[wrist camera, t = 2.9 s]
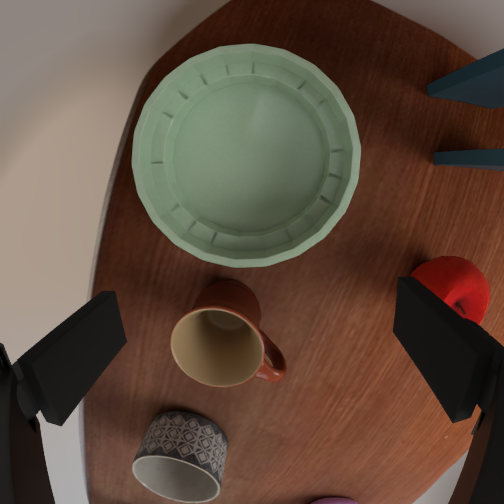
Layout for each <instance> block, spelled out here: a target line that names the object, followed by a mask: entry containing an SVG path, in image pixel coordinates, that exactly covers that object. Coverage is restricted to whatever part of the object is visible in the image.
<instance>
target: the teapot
mask: <svg viewBox="0 0 504 504" xmlns="http://www.w3.org/2000/svg"><path fill="white" fill-rule="evenodd" d="M311 504H358V503H357V502H355V501H354V500H352V499H347V498H323V499H319V500H317V501H314V502H312V503H311Z"/></svg>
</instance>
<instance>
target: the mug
mask: <svg viewBox="0 0 504 504" xmlns="http://www.w3.org/2000/svg"><path fill="white" fill-rule="evenodd" d="M260 320H261V312H260V307H259V303H258V300H257V298H256V296H255V294H254V293H253V292H252V290H251V289H250V288H248V287H247V286H246V285H244V284H243V283H240V282H238V281H234V280H221V281H217V282H215V283H213V284H211V285H209V286H208V287H207V288H205V289H204V290H203V291H202V292H201V293H200V295H199V296H198V298H197V300H196V302H195V304H194V306H193V308H192V310H190V311H189V312H187V313H185V314H184V315H183V316H181V317H180V318H179V319H178V320H177V322H176V323H175V324H174V326H173V328H172V331H171V334H170V351H171V354H172V357H173V359H174V361H175V362H176V364H177V365H178V367H179V368H180V369H181V370H182V371H183V372H184V373H185V374H186V375H187V376H189V377H190V378H192V379H193V380H195V381H197V382H199V383H202V384H205V385H208V386H213V387H232V386H236V385H240V384H243V383H245V382H247V381H248V380H250V379H251V378H252V377H253V376H255V377H258V378H262V379H264V380H266V381H269V382H278V381H280V380H281V379H282V378H283V377H284V376H285V374H286V372H287V365H286V361H285V358H284V356H283V354H282V353H281V351H280V350H279V349H278V347H277V346H276V345H275V344H274V343H273V342H272V341H271V340H270V339H269V338H268V336H267V335H266V334H265V333H264V332H263V331H261V330H260V328H259V326H260ZM265 353H266V354H267V356H268V357H269V358H270V360H271V362H272V364H273V367H272V366H271V365H269V364H268V362H267V361H266V360H265Z"/></svg>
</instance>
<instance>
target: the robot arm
mask: <svg viewBox="0 0 504 504" xmlns="http://www.w3.org/2000/svg"><path fill="white" fill-rule="evenodd" d="M393 333H394V334H395V335H396V337H397V338H398V340H399V341H400V343H401V344H402V346H403V347H404V348H405V350H406V351H407V353H408V354H409V356H410V357H411V359H412V360H413V362H414V363H415V365H416V366H417V368H418V369H419V371H420V372H421V374H422V375H423V377H424V378H425V380H426V381H427V383H428V385H429V386H430V388H431V389H432V391H433V392H434V394H435V395H436V397H437V399H438V400H439V402H440V403H441V405H442V407H443V408H444V410H445V411H446V413H447V415H448V416H449V418H450V420H451V421H452V423H455V422H458V421H461V420H464V419H467V418H470V417H471V416H472V413H473V411H474V409H475V406H476V404H478V406H479V407H480V409H481V410H482V411H481V413H480V416H479V418H478V420H477V422H476V424H475V426H474V428H473V431H472V433H471V434H472V435H473V439H472V442H471V445H470V448H469V452H468V455H467V458H466V460H465V463H464V466H463V469H462V472H461V474H460V477H459V479H458V482H457V485H456V487H455V489H454V492H453V494H452V496H451V499H450V501H449V503H448V504H504V347H503V346H502V345H501V344H500V343H499V342H498V341H497V340H496V339H494V338H493V337H492V336H491V335H490V336H489V333H488V332H486V331H485V330H483V328H482V327H481V326H480V325H478V324H477V323H476V322H474V321H472V320H469V319H467V318H463V317H462V316H460V315H459V314H458V313H457V312H456V311H455V310H453V309H452V308H451V307H450V306H449V305H448V304H446V303H445V302H444V301H443V300H442V299H440V298H439V297H438V296H437V295H436V294H434V293H433V292H432V291H431V290H429V289H428V288H427V287H426V286H425V285H423V284H422V283H421V282H420V281H418V280H417V279H416V278H415V277H413V276H409V277H398V287H397V299H396V309H395V318H394V326H393ZM126 342H127V340H126V336H125V332H124V328H123V324H122V320H121V316H120V311H119V307H118V303H117V298H116V293H115V291H102V292H100V293H99V294H98V295H97V296H95V297H94V298H93V299H91V300H90V301H89V302H87V303H86V304H85V305H84V306H82V307H81V308H80V309H79V310H77V311H76V312H75V313H73V314H72V315H71V316H70V317H68V318H67V319H66V320H65V321H63V322H62V323H61V324H60V325H58V326H57V327H56V328H55V329H53V330H52V331H51V332H50V333H48V334H47V335H46V336H45V337H44V338H43V339H41V340H40V341H39V342H38V343H36V344H35V345H34V346H33V347H32V348H31V349H29V350H28V351H27V352H26V353H24V355H22V356H21V357H20V358H19V359H17V361H16V362H15V363H14V364H13V365H11V362H10V360H9V358H8V355H7V353H6V351H5V348H4V345H3V344H2V343H0V504H55V501H54V497H53V493H52V489H51V485H50V480H49V476H48V471H47V466H46V461H45V456H44V451H43V444H42V437H41V430H40V423H39V421H38V419H37V417H36V414H37V413H38V411H40V410H41V412H42V414H43V416H44V418H45V419H46V421H47V422H49V423H52V424H56V425H59V426H62V425H63V424H64V422H65V421H66V419H67V418H68V417H69V416H70V414H71V413H72V412H73V410H74V409H75V408H76V406H77V405H78V404H79V402H80V401H81V400H82V398H83V397H84V396H85V394H86V393H87V392H88V391H89V389H90V388H91V387H92V385H93V384H94V383H95V381H96V380H97V379H98V378H99V376H100V375H101V374H102V372H103V371H104V370H105V369H106V367H107V366H108V365H109V364H110V362H111V361H112V360H113V359H114V357H115V356H116V355H117V353H118V352H119V351H120V350H121V348H122V347H123V346H124V345H125V343H126Z"/></svg>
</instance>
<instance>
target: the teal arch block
mask: <svg viewBox="0 0 504 504" xmlns="http://www.w3.org/2000/svg"><path fill="white" fill-rule="evenodd" d="M427 90H428V96H430V97H437V98H443V99H448V100H454V101H459V102H464V103H469V104H474V105H478V106H483V107H487V108H491V109H493V108H498V107H503V106H504V49H502V50H499V51H497V52H495V53H493V54H490V55H488V56H486V57H484V58H482V59H480V60H477V61H475V62H473V63H471V64H469V65H467V66H465V67H462V68H460V69H458V70H456V71H454V72H452V73H450V74H448V75H446V76H444V77H442V78H440V79H438V80H436V81H434V82H432V83H430V84H428V85H427ZM434 165H444V166H457V167H468V168H478V169H488V170H496V171H504V149H480V150H461V151H446V152H434Z"/></svg>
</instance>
